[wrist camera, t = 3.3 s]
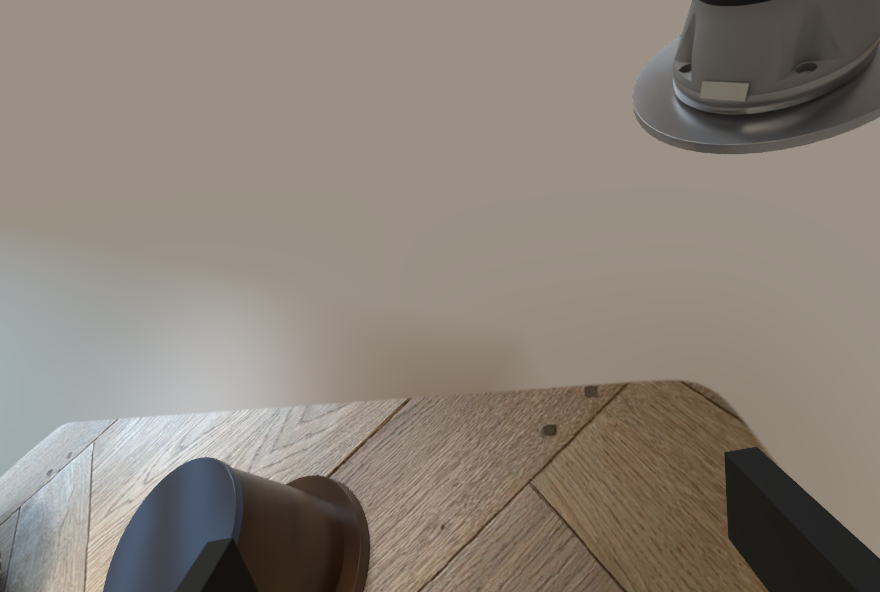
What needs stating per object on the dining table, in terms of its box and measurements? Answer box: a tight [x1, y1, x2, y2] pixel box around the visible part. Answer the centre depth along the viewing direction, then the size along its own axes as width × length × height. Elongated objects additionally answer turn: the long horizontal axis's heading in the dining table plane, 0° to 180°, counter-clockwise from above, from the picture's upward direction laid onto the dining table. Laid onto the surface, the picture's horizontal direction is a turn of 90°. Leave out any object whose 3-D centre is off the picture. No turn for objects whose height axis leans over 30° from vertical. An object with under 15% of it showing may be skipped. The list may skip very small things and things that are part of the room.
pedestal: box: [103, 457, 369, 592], centre depth 29 cm, size 13×13×12 cm
